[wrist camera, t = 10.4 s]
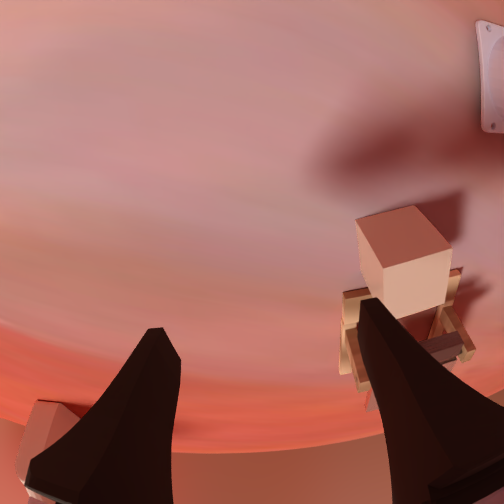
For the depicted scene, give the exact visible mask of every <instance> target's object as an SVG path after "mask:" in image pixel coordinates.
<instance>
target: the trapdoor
mask: <svg viewBox="0 0 504 504" xmlns="http://www.w3.org/2000/svg"><path fill="white" fill-rule="evenodd" d="M418 343H419V344H420V345H421V346H422V347H423V348H424V349H425V350H426V351H427V352H428V353H430V354H431V355H432V356H433V357H434V358H435V359H436V360H437V361H438V362H439V363H440V364H442V365H443V366H444V367H445V368H446V369H448V370H449V371H450V372H451V370H452V368H453V367H454V365H455V363H456V361H457V358H456V356H457V355H459V353H460V351H461V349H462V347H463V345H464V342H463V340H462V338H461V336H460V334H459V333H458V331H454V332H451V333H447V334H444V335H441V336H437V337H434V338H430V339H427V340H423V341H420V342H418ZM364 406H365V410H366V412H368V411H373V410H377V409H379V408H378V405H377V402H376V399H375V396H374V393H373V390H372V387H371V388H370V390H369V391H368V392H367V396H366V400H365V404H364Z"/></svg>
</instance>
